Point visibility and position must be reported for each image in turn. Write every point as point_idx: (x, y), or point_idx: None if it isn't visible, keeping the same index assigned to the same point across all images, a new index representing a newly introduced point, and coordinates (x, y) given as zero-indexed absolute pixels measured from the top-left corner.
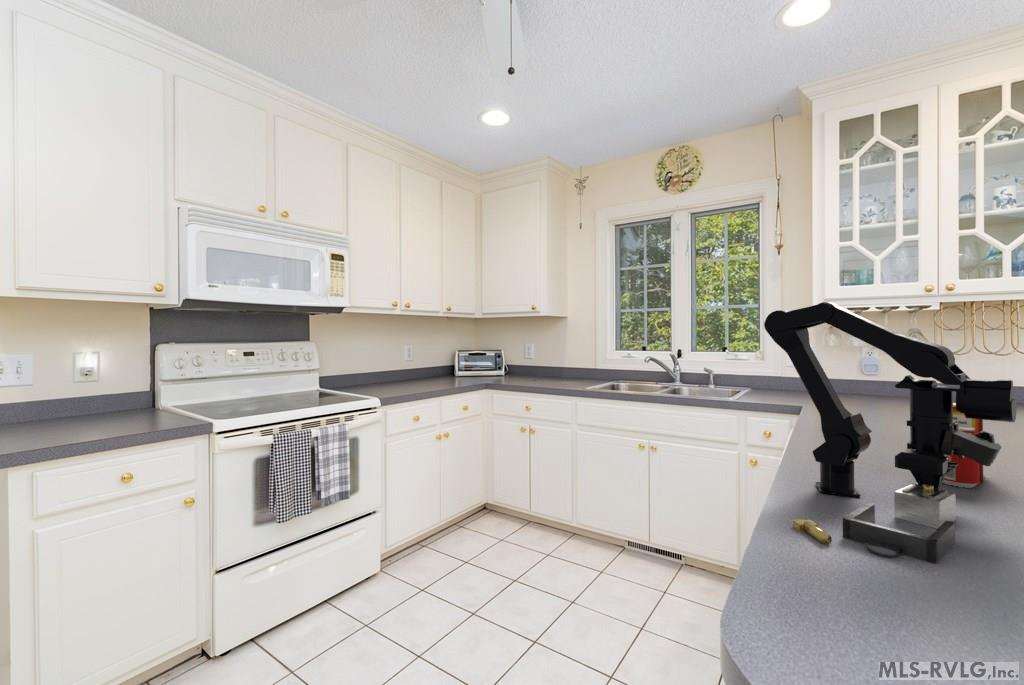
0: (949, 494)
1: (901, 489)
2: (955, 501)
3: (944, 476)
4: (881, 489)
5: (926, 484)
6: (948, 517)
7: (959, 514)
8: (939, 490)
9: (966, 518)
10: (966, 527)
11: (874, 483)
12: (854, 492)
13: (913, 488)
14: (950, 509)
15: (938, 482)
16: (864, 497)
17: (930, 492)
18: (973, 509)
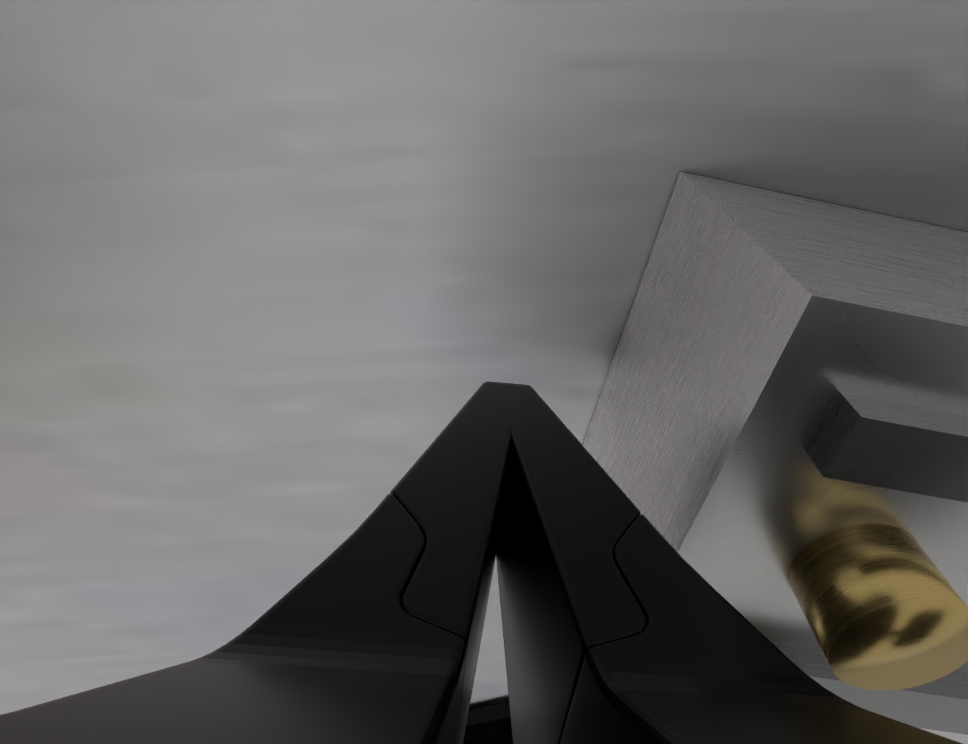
0: (933, 362)
1: (934, 730)
2: (752, 243)
3: (304, 584)
4: (166, 643)
5: (862, 662)
6: (930, 238)
7: (413, 157)
8: (723, 477)
9: (522, 85)
10: (903, 58)
11: (49, 680)
12: (487, 738)
13: (934, 690)
14: (912, 255)
15: (696, 585)
16: (483, 681)
17: (937, 545)
18: (54, 46)
